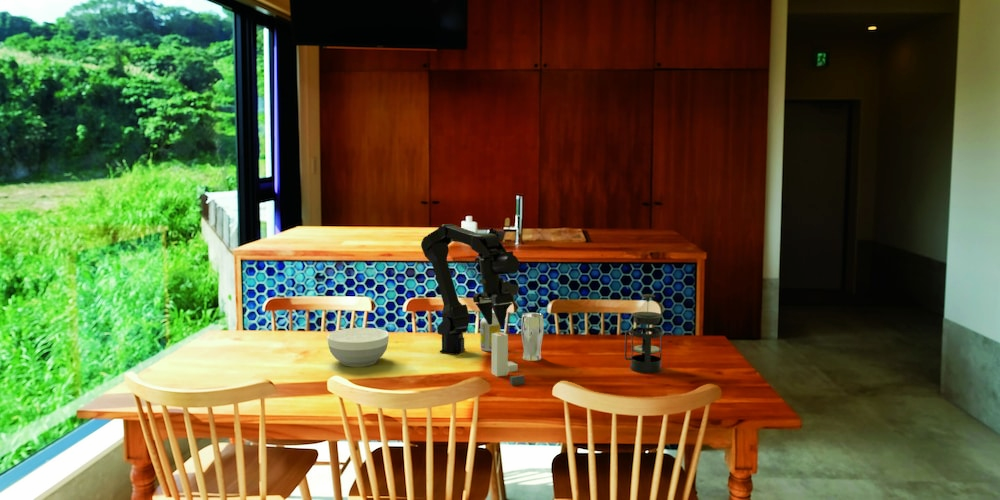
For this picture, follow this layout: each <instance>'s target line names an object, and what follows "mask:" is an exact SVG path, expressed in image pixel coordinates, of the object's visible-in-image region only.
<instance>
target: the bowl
mask: <svg viewBox="0 0 1000 500" xmlns="http://www.w3.org/2000/svg"><path fill="white" fill-rule="evenodd" d="M389 334H390V333H389V332H388V331H386V330H385V329H381V328H376V327H375V328H374V327H350V328H343V329H338V330H335V331H332V332H330V333H329V334H327V337H326V338H327V345H328V349H329V351H330V353H331V354H332V356H333V357H334V358H335V360H337V361H338V362H340V363H341V364H342V365H343V366H347V367H353V368H354V367H356V368H357V367H367V365H368V366H372V365H374V364H376V363H377V361H378V360H379V359H380V358H382V357H383V355H384V354H385V352H386V351H387V348H388V344H389V338H390V337H389Z"/></svg>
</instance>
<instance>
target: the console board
mask: <svg viewBox="0 0 1000 500" xmlns="http://www.w3.org/2000/svg"><path fill="white" fill-rule="evenodd" d="M510 372H511V373H512V372H518V363H515V362H514V361H511V360H510V361H509V360H508V373H510ZM509 385H510V386H512V387H513V386H517V385H518V386H519V385H525V375H524V374H519V375H512V376H511V375H510V376H509Z"/></svg>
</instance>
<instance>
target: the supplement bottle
mask: <svg viewBox="0 0 1000 500" xmlns="http://www.w3.org/2000/svg"><path fill="white" fill-rule="evenodd" d="M479 324H480V326H479V327H480V350H482V351H484V352H492V333H496V332H499V333H500V332H502V331H501V330H502V329H501V326H500V325H499V322H498V320H497V318H496V315H495V313H494V311H493V309H492V325H488V323H487V321H486V320H485V318H484V317H483V318H482V319H481V320H480V323H479Z"/></svg>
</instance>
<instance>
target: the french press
mask: <svg viewBox="0 0 1000 500" xmlns="http://www.w3.org/2000/svg"><path fill="white" fill-rule="evenodd" d="M640 297H641V298H645V299H646V301H645V302H647V303H646V311H637V312H633V313H632V317H633V322H634V323H636V324H639V325H644V326H641V327H640V326H639V327H634V328H632V329H630V330H625V332H624V333H625V335H624V340H625V341H624V358H625V360H626V361H630V367H629V368H630V370H631V371H633V372H636V373H640V374H655V373H660V372H661V371H662V343H663V342H662V339H663V331H662V329H660V328H656V327H649V326H652V325H653V326H654V325H658V324H659V323H660V321H661V318H663V314H661V313H659V312H653V311H649V302H650V299H652V298H655V297H656V296H655V295H654V294H650V293H646V294H641V295H640ZM641 332H642V333H641ZM649 332H650V333H649ZM628 333H631V349H630V350H631V356H630V357H627V352H628V351H627V350H628V349H627V344H628ZM634 337H635V338H641V340H642V341H641V344H639V345H634ZM652 339H660V340H659V341H660V343H659V344H660V345H659V347H658V346H656V345H652ZM633 345H634V346H633ZM633 352H635V353H636V354H634V353H633ZM658 353H659V356H657V355H653V354H658ZM633 354H634V355H633Z"/></svg>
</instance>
